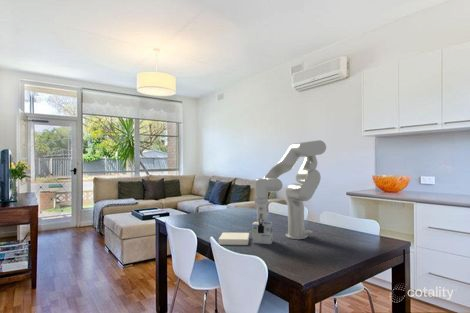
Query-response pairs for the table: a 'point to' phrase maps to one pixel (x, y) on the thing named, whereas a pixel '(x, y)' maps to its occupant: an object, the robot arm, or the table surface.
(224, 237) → the base block
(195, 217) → the table surface
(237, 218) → the table surface
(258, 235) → the light bulb box
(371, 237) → the table surface
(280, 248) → the table surface
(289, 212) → the robot arm
